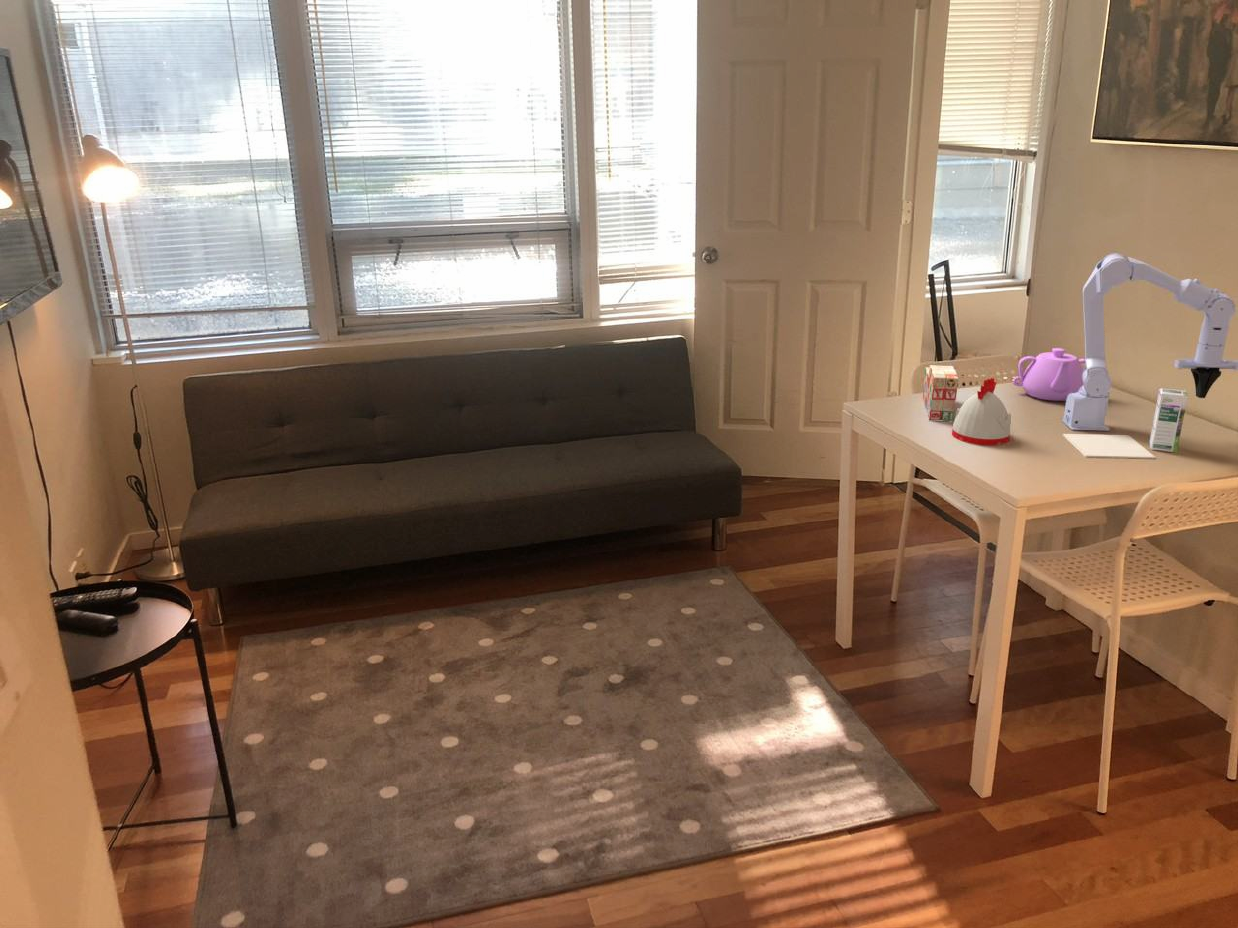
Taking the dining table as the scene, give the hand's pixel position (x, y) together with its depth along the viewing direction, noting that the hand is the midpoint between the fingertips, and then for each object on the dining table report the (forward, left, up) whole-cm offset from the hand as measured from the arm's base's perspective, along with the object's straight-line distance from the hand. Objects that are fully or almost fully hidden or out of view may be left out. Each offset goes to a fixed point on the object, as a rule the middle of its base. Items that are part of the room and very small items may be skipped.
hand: (1200, 397), depth 243 cm
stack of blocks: (-59, +19, -11) cm, 63 cm away
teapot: (-24, +32, -11) cm, 42 cm away
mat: (-24, -9, -10) cm, 28 cm away
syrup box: (-11, -9, -11) cm, 18 cm away
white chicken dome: (-53, -3, -11) cm, 54 cm away
